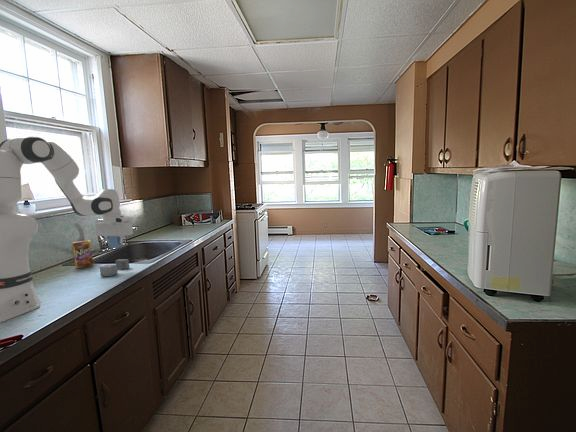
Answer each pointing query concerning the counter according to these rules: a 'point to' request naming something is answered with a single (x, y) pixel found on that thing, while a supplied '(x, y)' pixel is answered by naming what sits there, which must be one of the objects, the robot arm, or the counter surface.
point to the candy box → (83, 254)
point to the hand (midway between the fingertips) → (115, 243)
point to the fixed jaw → (122, 263)
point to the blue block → (114, 242)
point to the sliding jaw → (108, 270)
